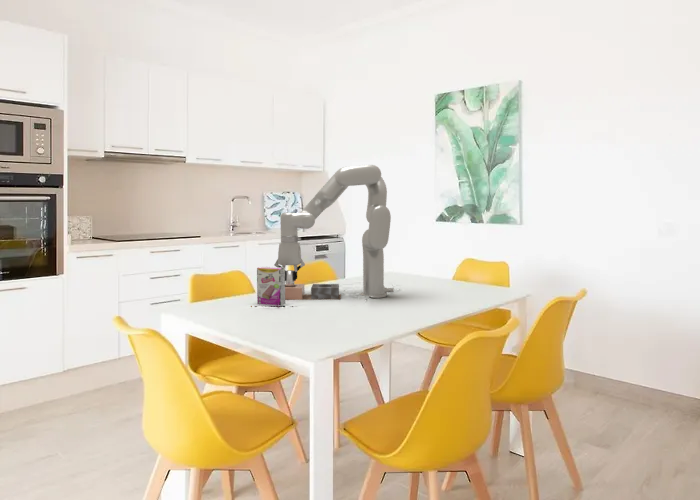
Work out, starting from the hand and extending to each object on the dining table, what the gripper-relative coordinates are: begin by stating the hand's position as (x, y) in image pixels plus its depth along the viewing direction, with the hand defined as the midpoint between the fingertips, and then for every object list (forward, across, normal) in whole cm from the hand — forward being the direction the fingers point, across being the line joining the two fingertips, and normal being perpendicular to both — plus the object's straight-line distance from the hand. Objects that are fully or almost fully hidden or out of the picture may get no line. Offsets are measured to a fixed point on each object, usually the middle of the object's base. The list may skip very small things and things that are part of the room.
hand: (289, 280), depth 249 cm
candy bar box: (+9, +6, +16) cm, 20 cm away
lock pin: (+7, 0, 0) cm, 7 cm away
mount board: (+9, -8, 0) cm, 12 cm away
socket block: (+8, 0, 0) cm, 8 cm away
